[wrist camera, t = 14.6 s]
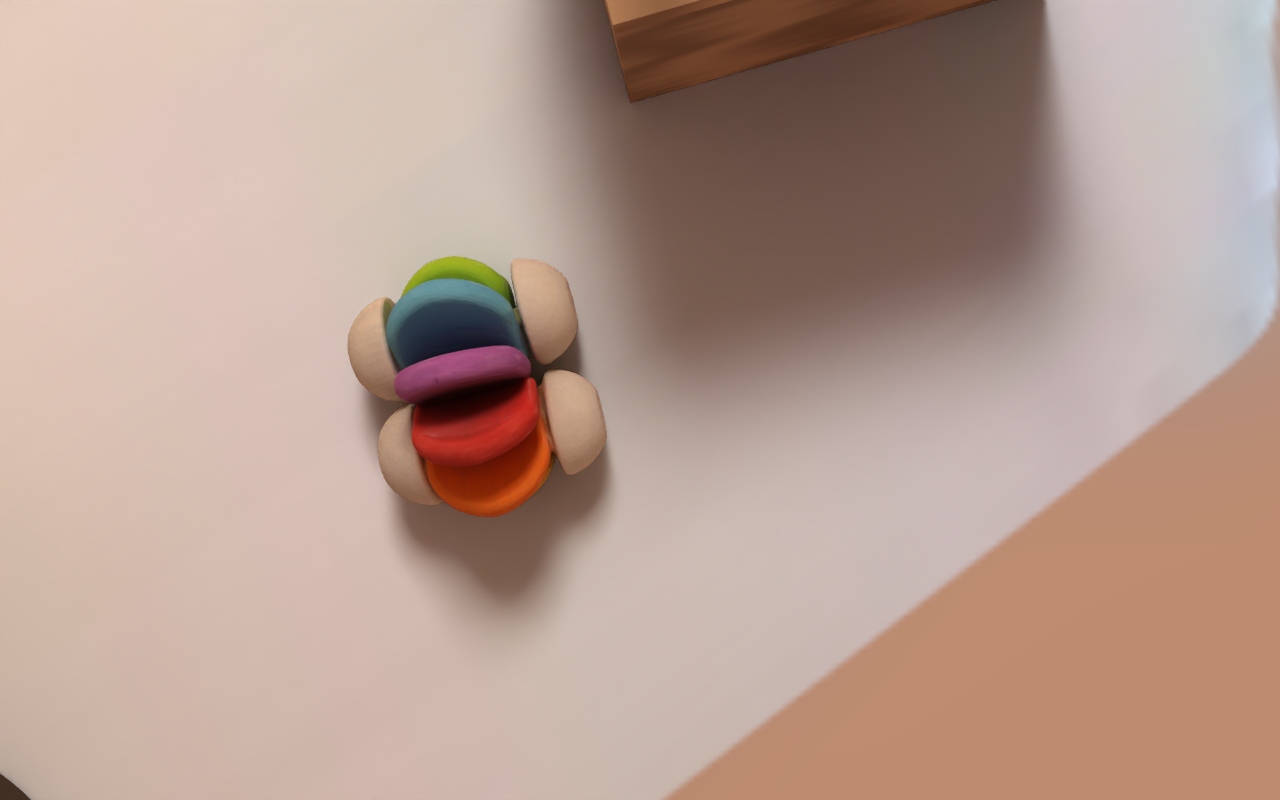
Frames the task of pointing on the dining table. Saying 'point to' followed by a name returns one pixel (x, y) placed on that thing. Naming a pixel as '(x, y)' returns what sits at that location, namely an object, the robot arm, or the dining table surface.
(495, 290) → the multicolored rounded segment toy
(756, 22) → the wooden box with opening
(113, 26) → the dining table surface
